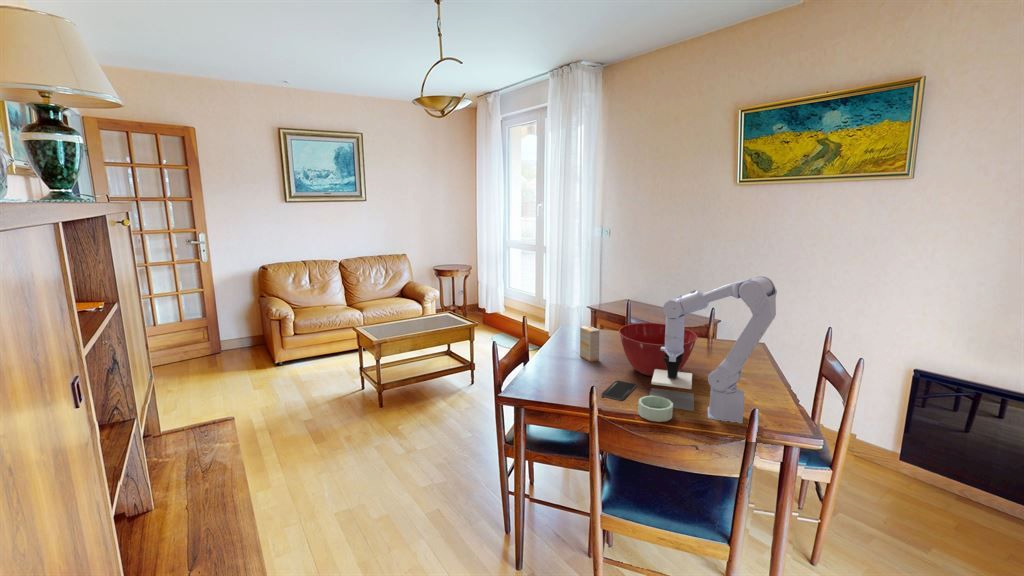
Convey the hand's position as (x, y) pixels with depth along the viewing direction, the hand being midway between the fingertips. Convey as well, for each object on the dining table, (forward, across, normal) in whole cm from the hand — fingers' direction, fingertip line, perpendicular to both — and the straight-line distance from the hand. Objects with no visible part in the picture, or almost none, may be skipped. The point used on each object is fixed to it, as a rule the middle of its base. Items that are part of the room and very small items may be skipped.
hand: (672, 375), depth 153 cm
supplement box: (+8, -31, -34) cm, 47 cm away
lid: (+1, 0, 0) cm, 1 cm away
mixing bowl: (+8, -25, -7) cm, 27 cm away
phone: (+9, -1, -17) cm, 19 cm away
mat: (+8, 0, 0) cm, 8 cm away
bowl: (+8, +13, -4) cm, 16 cm away
